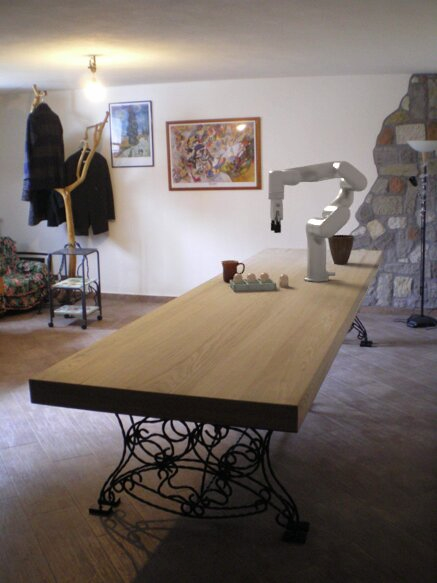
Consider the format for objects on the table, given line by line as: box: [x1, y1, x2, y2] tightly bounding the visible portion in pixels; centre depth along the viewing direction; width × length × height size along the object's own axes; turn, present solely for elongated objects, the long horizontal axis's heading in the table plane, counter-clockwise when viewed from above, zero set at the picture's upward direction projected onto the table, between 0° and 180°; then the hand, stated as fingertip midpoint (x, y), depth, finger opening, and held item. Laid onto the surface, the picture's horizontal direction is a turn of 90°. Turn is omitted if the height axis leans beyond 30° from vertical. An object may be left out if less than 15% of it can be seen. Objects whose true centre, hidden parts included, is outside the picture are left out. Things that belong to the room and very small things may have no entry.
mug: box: [221, 259, 246, 283], centre depth 336 cm, size 12×9×10 cm
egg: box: [278, 273, 289, 289], centre depth 320 cm, size 4×4×6 cm
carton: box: [229, 272, 277, 293], centre depth 318 cm, size 20×14×7 cm
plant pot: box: [327, 234, 355, 265], centre depth 381 cm, size 15×15×16 cm
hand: (275, 231), depth 321 cm, fingers open, 9 cm apart
